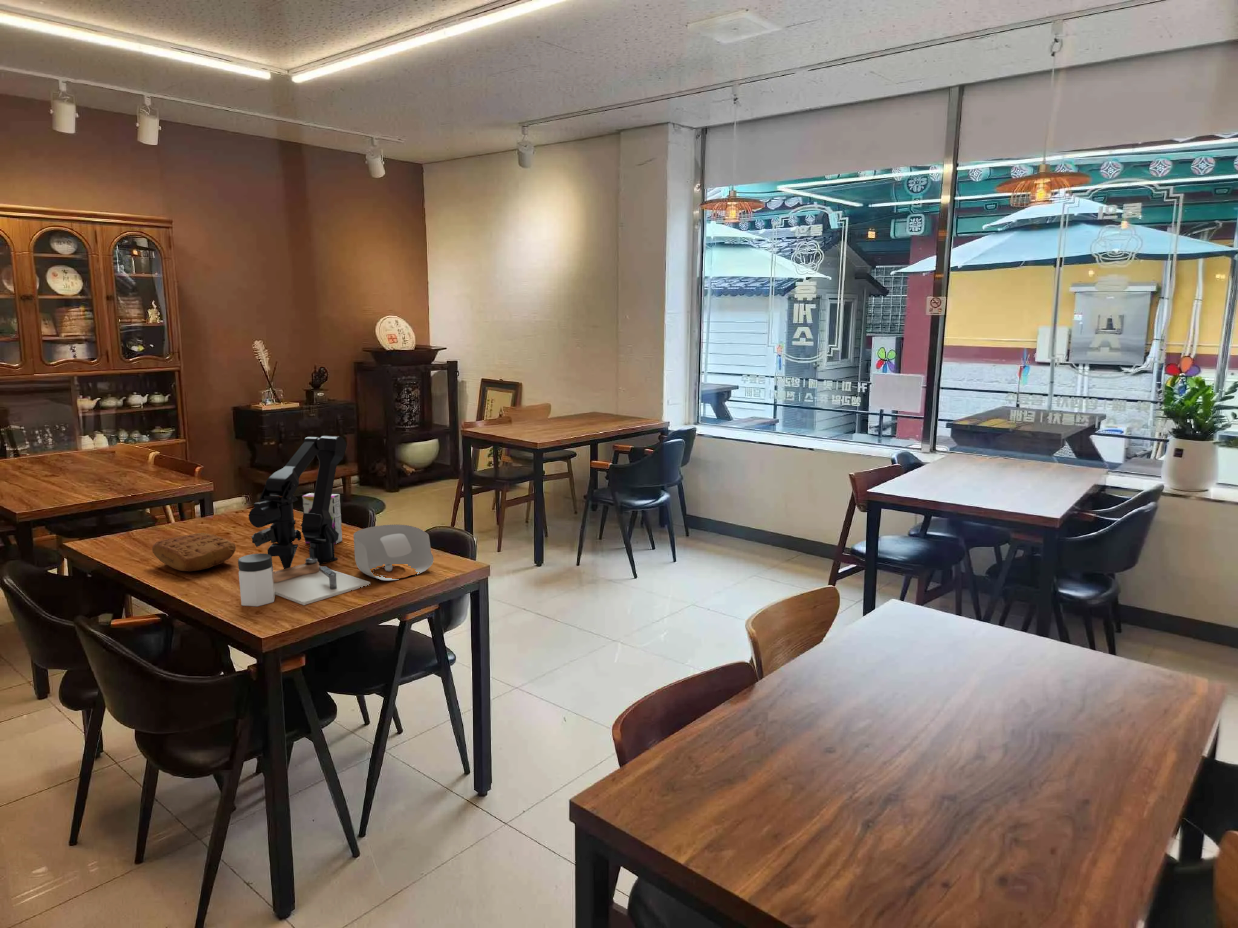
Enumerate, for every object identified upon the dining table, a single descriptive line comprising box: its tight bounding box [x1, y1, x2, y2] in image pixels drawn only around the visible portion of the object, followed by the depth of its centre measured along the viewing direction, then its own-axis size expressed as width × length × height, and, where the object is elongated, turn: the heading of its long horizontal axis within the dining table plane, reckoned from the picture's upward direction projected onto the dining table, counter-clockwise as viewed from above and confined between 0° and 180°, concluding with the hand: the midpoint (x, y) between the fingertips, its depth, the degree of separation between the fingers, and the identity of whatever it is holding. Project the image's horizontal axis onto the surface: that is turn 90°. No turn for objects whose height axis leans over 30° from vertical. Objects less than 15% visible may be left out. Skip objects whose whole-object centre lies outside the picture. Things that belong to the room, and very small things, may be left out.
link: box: [273, 562, 320, 583], centre depth 226 cm, size 17×4×2 cm, turn 143°
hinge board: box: [274, 565, 371, 606], centre depth 222 cm, size 21×26×1 cm
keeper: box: [305, 557, 337, 590], centre depth 224 cm, size 3×21×4 cm, turn 40°
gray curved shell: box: [353, 524, 435, 581], centre depth 234 cm, size 20×19×12 cm
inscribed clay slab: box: [151, 532, 236, 572], centre depth 239 cm, size 22×17×8 cm
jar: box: [237, 553, 276, 607], centre depth 208 cm, size 9×8×12 cm
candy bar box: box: [301, 492, 343, 545], centre depth 264 cm, size 11×5×16 cm, turn 84°
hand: (287, 571), depth 230 cm, fingers closed
